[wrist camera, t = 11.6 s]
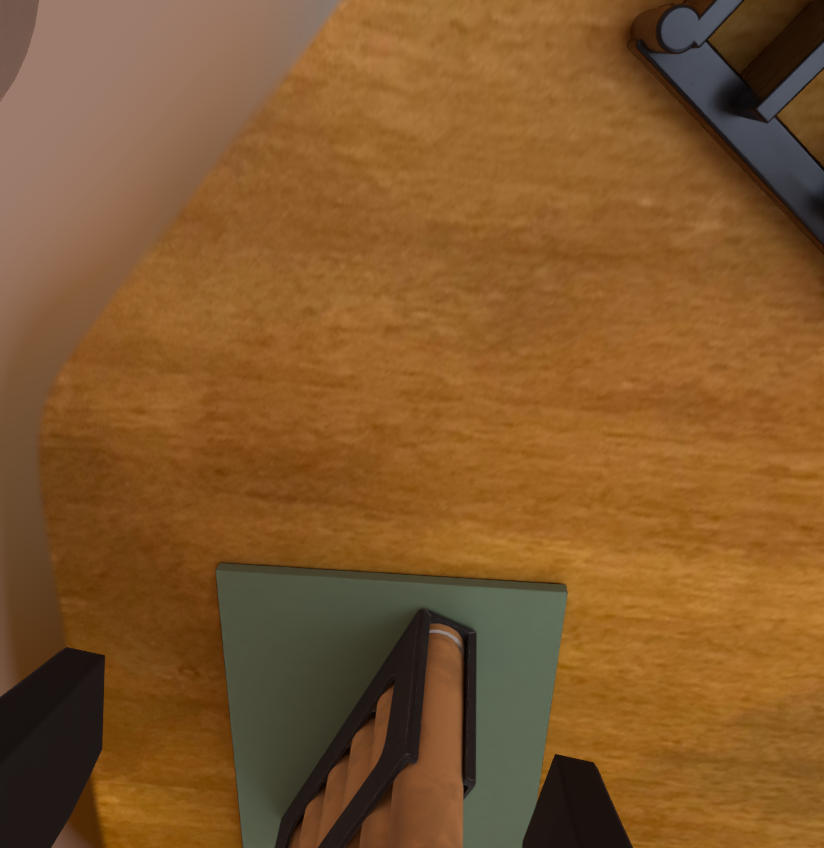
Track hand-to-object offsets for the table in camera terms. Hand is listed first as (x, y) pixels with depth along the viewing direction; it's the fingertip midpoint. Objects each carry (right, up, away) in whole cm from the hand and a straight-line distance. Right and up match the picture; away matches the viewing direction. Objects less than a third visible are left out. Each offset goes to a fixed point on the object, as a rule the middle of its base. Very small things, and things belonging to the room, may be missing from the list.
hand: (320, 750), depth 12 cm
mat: (+1, -5, +13) cm, 14 cm away
